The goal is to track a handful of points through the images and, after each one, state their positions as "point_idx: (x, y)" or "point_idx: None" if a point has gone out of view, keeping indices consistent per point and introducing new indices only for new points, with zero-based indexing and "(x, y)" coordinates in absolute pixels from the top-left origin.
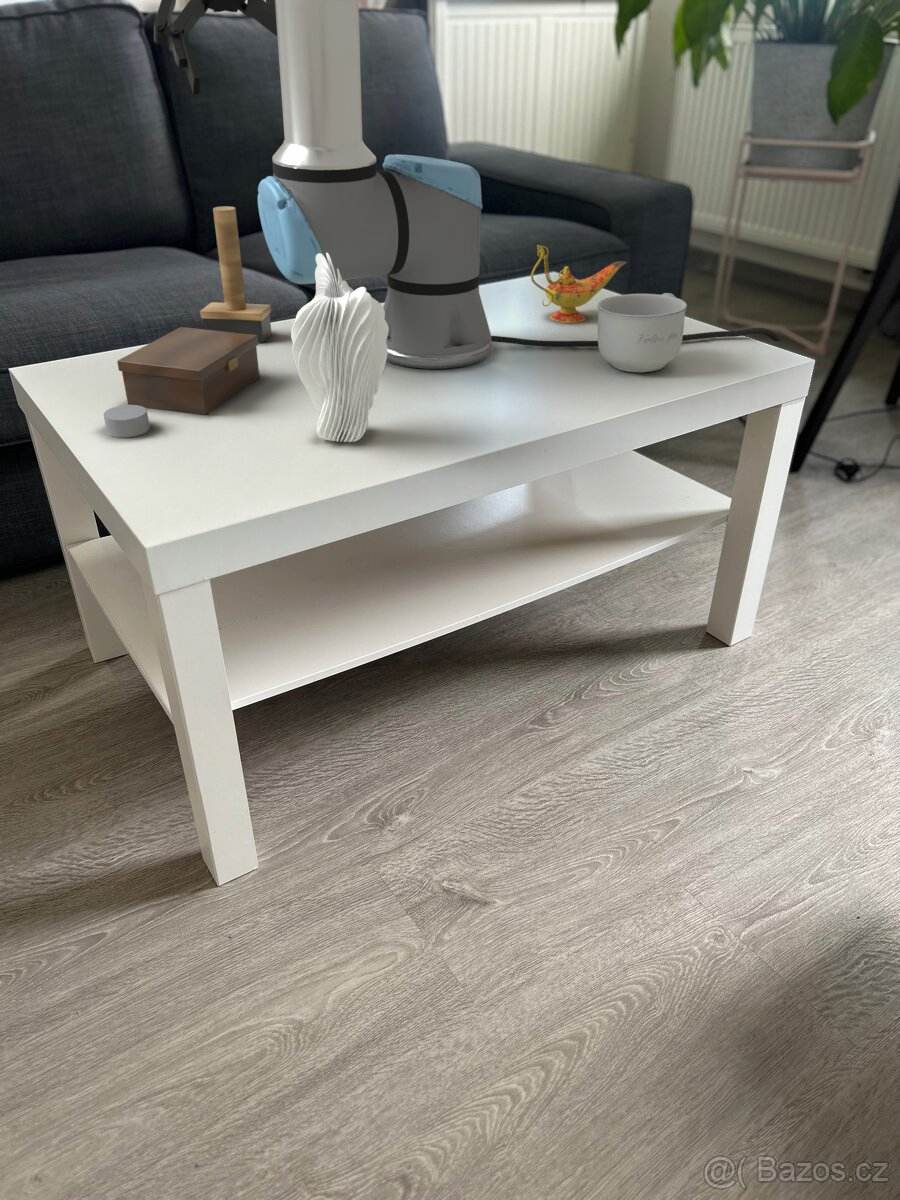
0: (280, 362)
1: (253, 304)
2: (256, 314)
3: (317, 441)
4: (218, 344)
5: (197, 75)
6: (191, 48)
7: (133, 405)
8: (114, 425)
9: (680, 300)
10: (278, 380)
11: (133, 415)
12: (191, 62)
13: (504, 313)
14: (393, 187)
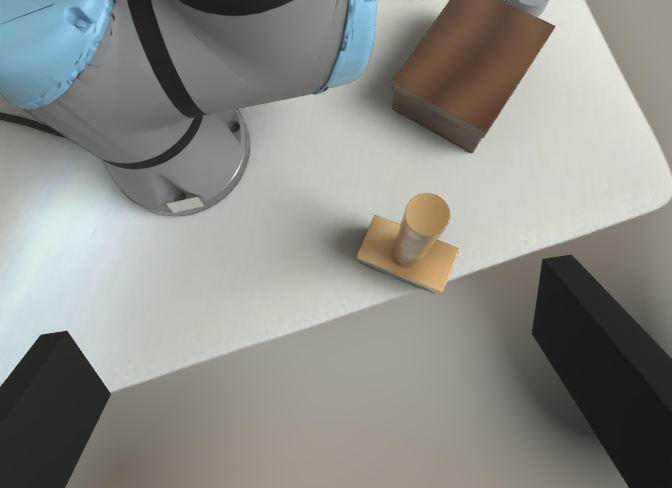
0: (363, 152)
1: (380, 263)
2: (381, 217)
3: None
4: (440, 57)
5: (559, 266)
6: (660, 401)
7: (525, 2)
8: None
9: None
10: (373, 97)
11: None
12: (616, 316)
13: (37, 278)
14: None
